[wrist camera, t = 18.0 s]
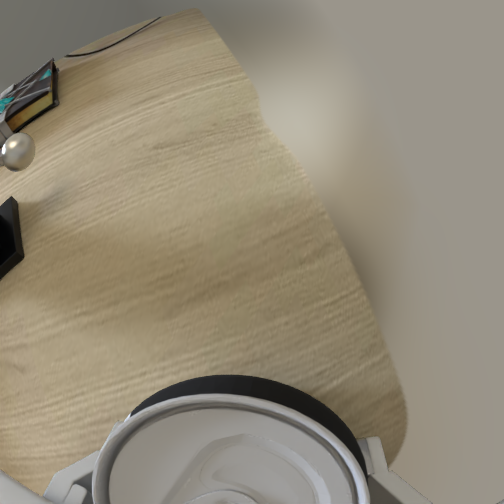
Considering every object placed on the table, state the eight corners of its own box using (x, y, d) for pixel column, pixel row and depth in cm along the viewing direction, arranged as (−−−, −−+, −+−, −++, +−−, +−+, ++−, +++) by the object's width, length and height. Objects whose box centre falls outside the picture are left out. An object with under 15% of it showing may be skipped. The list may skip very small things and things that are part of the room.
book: (59, 70, 38) (50, 51, 33) (61, 104, 31) (47, 78, 26) (-25, 135, 34) (-37, 119, 29) (-40, 187, 27) (-57, 169, 22)
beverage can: (334, 435, 14) (444, 502, 3) (248, 502, 12) (216, 635, 2) (258, 358, 16) (238, 301, 6) (174, 425, 15) (33, 461, 4)
